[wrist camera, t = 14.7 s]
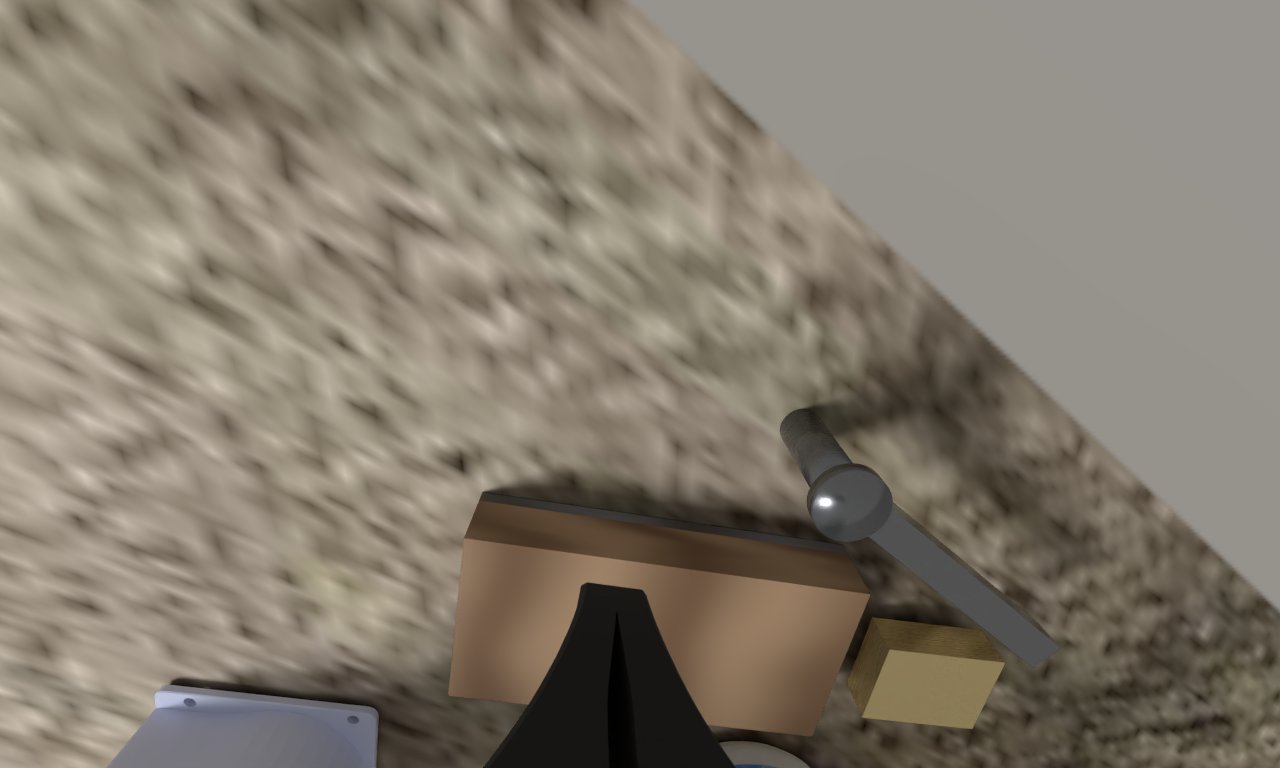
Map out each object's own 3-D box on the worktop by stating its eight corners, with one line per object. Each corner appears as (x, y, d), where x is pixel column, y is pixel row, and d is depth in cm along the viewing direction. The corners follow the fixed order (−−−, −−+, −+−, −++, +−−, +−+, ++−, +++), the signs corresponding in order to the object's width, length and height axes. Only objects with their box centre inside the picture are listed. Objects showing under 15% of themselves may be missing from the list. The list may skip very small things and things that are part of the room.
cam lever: (954, 592, 26) (1036, 699, 21) (756, 432, 23) (796, 513, 18) (998, 556, 25) (1094, 659, 20) (801, 388, 22) (855, 458, 17)
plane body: (466, 637, 26) (448, 695, 23) (482, 492, 24) (463, 538, 21) (792, 677, 28) (812, 736, 25) (842, 544, 25) (870, 594, 22)
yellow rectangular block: (972, 728, 26) (944, 683, 28) (1005, 662, 24) (973, 620, 27) (861, 717, 25) (842, 671, 28) (889, 649, 24) (867, 607, 26)
